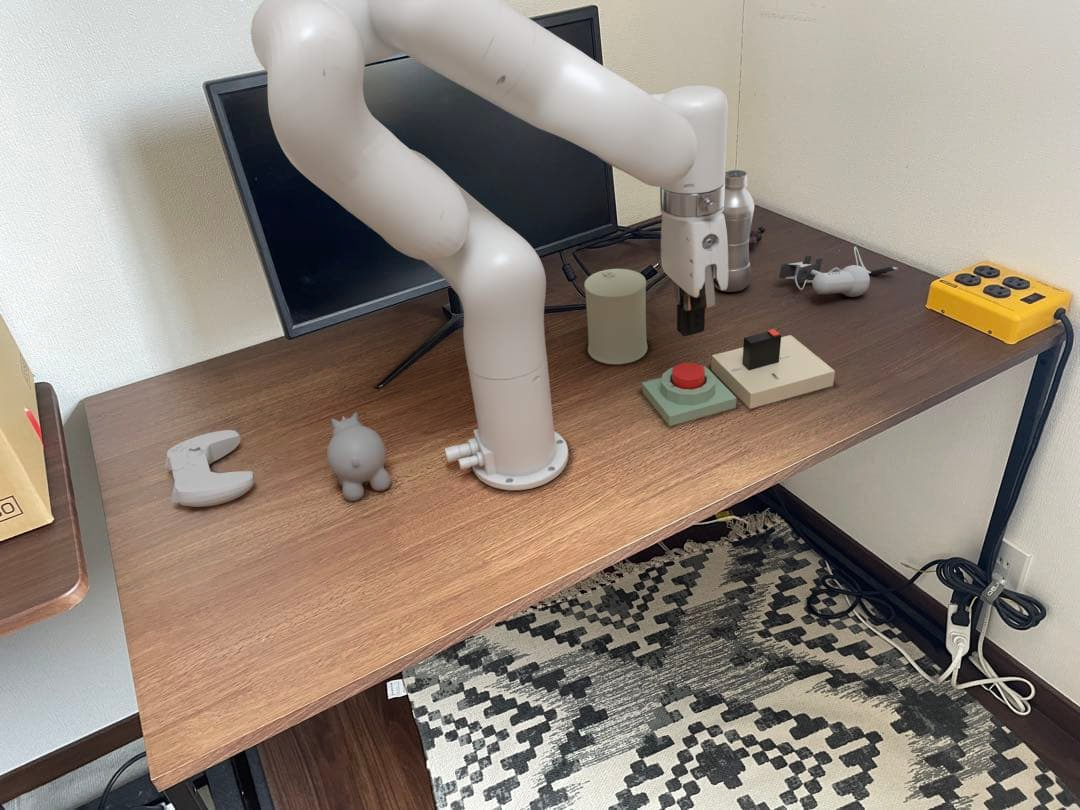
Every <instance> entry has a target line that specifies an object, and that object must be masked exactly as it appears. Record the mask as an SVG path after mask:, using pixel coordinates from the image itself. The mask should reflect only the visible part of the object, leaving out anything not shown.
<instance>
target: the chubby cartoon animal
mask: <svg viewBox="0 0 1080 810" xmlns="http://www.w3.org/2000/svg"><path fill="white" fill-rule="evenodd" d="M330 421H331V424H332V428H333V429H332V435H331V436H332V437H331V439H330V441H329V443H328V446H327V449H326V459H327V464H328V466H329V468H330V470H331V471H332V473H333V474H334V475H335V476H336V477H337V478H338V483H339V484H340V486H341V487H342V495H343V497H344V499H345V500H346V501H350V502H356V501H358V500H360V499H362V498H363V497H364V495H365V488H364V486H363V485H368V483H369V484H370V487H371V488H372V489H373V490H375V491H376V492H382V491H385V490H387V489H388V488H389V487H390V485H391V484H392V483H391V482H392V478H391V476H390V474H389V472H388V471H387V470H386V469H385V467H384V465H385V463H386V458H387V449H386V445H385V442H384V441H383V439H382V437H381V436H380V434H379V433H377V432H376V431H375V430H374V429H371V428H370V427H369V426H364V424H362V423H361V422H360V421H359V413H358V412H357V411H355V412H354V413H353V414H352V416H350V417H349V418H346V417H345V416H344V415H342V418H341V420H337V419H335V418H333V417H332V418H331V419H330Z"/></svg>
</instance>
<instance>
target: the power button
mask: <svg viewBox="0 0 1080 810" xmlns="http://www.w3.org/2000/svg"><path fill="white" fill-rule="evenodd" d="M673 367H674V368H673V370H672V383H673V385H674V386H675V387H678V388H681V389H696V388H700V387H702V386H703V384H704V382H705V370H704V368H703V366H702V365H701V364H699V363H696V362H687V361H686V362H680V363H677V365H675V366H673Z"/></svg>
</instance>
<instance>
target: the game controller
mask: <svg viewBox="0 0 1080 810" xmlns="http://www.w3.org/2000/svg"><path fill="white" fill-rule="evenodd" d="M241 440H242V438H241V435H240V434H239V433H238V432H237V430H233V429H225V430H217V431H216V430H215V431H212V432H208V433H204V434H200V435H198V436H194V437H191V438H188V439H187V440H183V441H182V442H179V443H177V444H175V445H174V446H172V447H170V448H169V449H167V452H166V459H165V463H164V467H165V470H171V472H172V477H173V482H174V483H173V485H174V486H173V488H172V492H171V496H170V497H171V502H172V503H173V504H180V506H185V507H192V508H193V507H195V508H201V507H202V508H203V507H212V506H218V505H221V504H225V503H228V502H232V501H234V500H235V499H239V498H240V497H242V496H243V495H245V494H247V492H249V491H250V490H251V489H252V488H253V486H254V484H255V473H254V471H252V470H248V471H247V470H243V471H240V470H239V471H228V472H219V473H218V472H214V471H211V468H210V465H211V464H212V463H214V462H216V461H219V460H220V459H221V458H223V457H225V456H227V455H228V454H230V453H231V452H232V451H234V450H235V449H236V448H237V447H238V446H239V445H240V443H241Z"/></svg>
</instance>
